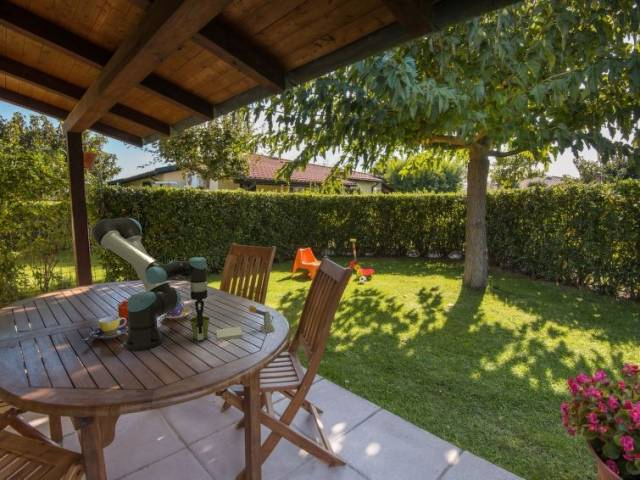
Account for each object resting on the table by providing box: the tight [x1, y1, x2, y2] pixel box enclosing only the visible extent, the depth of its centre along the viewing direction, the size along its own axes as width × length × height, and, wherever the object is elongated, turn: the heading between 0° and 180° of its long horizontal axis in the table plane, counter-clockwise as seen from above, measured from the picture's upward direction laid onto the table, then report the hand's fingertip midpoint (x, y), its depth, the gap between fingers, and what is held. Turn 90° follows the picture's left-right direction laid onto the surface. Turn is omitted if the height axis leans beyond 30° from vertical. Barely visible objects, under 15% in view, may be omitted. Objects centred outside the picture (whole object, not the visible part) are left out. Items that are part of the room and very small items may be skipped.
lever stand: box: [259, 310, 276, 334], centre depth 175 cm, size 6×7×9 cm
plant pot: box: [189, 315, 211, 340], centre depth 165 cm, size 9×9×9 cm
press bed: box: [215, 326, 244, 342], centre depth 169 cm, size 12×11×2 cm
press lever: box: [248, 305, 270, 317], centre depth 173 cm, size 10×4×2 cm, turn 109°
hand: (200, 336), depth 165 cm, fingers closed on plant pot, 8 cm apart
